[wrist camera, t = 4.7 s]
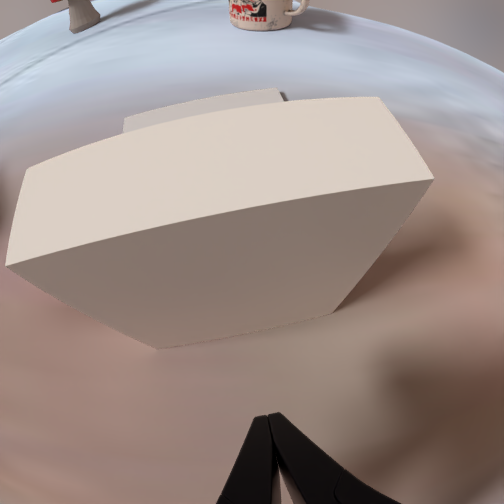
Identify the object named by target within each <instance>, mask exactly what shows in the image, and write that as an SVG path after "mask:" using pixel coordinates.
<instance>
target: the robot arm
mask: <svg viewBox="0 0 504 504" xmlns="http://www.w3.org/2000/svg"><path fill="white" fill-rule="evenodd" d="M276 457H277V458H276ZM277 461H278V462H277ZM278 466H279V467H278ZM279 469H280V472H281V475H282V477H283V480H284V482H285V484H286V487H287V489H288V492H289V494H290V496H291V499H292V501H293V503H294V504H401V503H399V502H397V501H395V500H393V499H391V498H389V497H387V496H385V495H383V494H382V493H380V492H378V491H376V490H375V489H373V488H371V487H370V486H368V485H366V484H365V483H363V482H362V481H360V480H359V479H358V478H356V477H355V476H354V475H352V474H351V473H350V472H349V471H347V470H346V469H344V468H343V467H342V466H341V465H339V464H338V463H337V462H336V461H335V460H333V459H332V458H331V457H330V456H329V455H327V454H326V453H325V452H324V451H323V450H322V449H320V448H319V447H318V446H317V445H316V444H315V443H313V442H312V441H311V440H310V439H309V438H308V437H307V436H306V435H304V434H303V433H302V432H301V431H300V430H299V429H298V428H297V427H295V426H294V425H293V424H292V423H291V422H290V421H289V420H288V419H287V418H286V417H285V416H284V415H282V414H281V413H280V412H277V413H272V414H269V415H268V417H267V416H266V415H262V416H257V417H255V418H254V419H253V421H252V424H251V426H250V429H249V431H248V434H247V436H246V438H245V441H244V443H243V445H242V448H241V450H240V452H239V455H238V457H237V459H236V462H235V464H234V466H233V468H232V471H231V473H230V475H229V477H228V480H227V482H226V484H225V486H224V488H223V490H222V493H221V494H222V495H220V496H219V498H218V500H217V503H216V504H281V489H280V474H279Z"/></svg>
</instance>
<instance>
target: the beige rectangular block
mask: <svg viewBox="0 0 504 504" xmlns="http://www.w3.org/2000/svg"><path fill="white" fill-rule="evenodd" d="M433 180H434V177H433V175H432V173H431V172H430V170H429V168H428V167H427V165H426V164H425V162H424V160H423V159H422V157H421V156H420V154H419V153H418V151H417V149H416V148H415V146H414V145H413V143H412V142H411V140H410V139H409V137H408V136H407V135H406V133H405V132H404V130H403V129H402V127H401V126H400V125H399V123H398V122H397V120H396V119H395V118H394V116H393V115H392V114H391V112H390V111H389V110H388V108H387V107H386V106H385V104H384V103H383V102H382V101H381V99H380V98H379V97H344V98H323V99H309V100H297V101H286V102H277V103H269V104H261V105H253V106H247V107H240V108H234V109H228V110H222V111H216V112H211V113H206V114H201V115H196V116H191V117H186V118H182V119H177V120H173V121H169V122H164V123H160V124H156V125H152V126H149V127H145V128H141V129H138V130H134V131H130V132H127V133H124V134H120V135H117V136H114V137H110V138H107V139H104V140H101V141H98V142H95V143H92V144H89V145H86V146H83V147H80V148H78V149H75V150H72V151H69V152H67V153H64V154H61V155H59V156H56V157H54V158H51V159H49V160H46V161H44V162H41V163H39V164H37V165H34V166H32V167H30V168H27V170H26V173H25V177H24V180H23V184H22V187H21V191H20V194H19V198H18V202H17V206H16V210H15V215H14V219H13V224H12V229H11V234H10V239H9V245H8V251H7V257H6V264H5V266H6V267H7V268H9V269H10V270H12V271H13V272H15V273H16V274H18V275H19V276H21V277H22V278H24V279H25V280H27V281H28V282H30V283H32V284H33V285H35V286H36V287H38V288H40V289H41V290H43V291H45V292H46V293H48V294H50V295H51V296H53V297H55V298H56V299H58V300H60V301H62V302H63V303H65V304H67V305H69V306H70V307H72V308H74V309H76V310H78V311H80V312H81V313H83V314H85V315H87V316H89V317H91V318H93V319H95V320H96V321H98V322H100V323H102V324H104V325H106V326H108V327H110V328H112V329H114V330H116V331H118V332H120V333H123V334H125V335H127V336H129V337H131V338H133V339H135V340H137V341H140V342H142V343H144V344H146V345H148V346H151V347H153V348H155V349H164V348H171V347H177V346H183V345H189V344H195V343H201V342H206V341H212V340H217V339H223V338H228V337H233V336H238V335H243V334H248V333H252V332H257V331H262V330H266V329H271V328H275V327H280V326H284V325H289V324H293V323H297V322H301V321H305V320H309V319H313V318H317V317H321V316H325V315H329V314H332V313H333V311H334V310H335V309H336V308H337V307H338V306H339V304H340V303H341V302H342V301H343V300H344V299H345V297H346V296H347V295H348V294H349V293H350V291H351V290H352V289H353V288H354V287H355V285H356V284H357V283H358V282H359V281H360V279H361V278H362V277H363V276H364V275H365V273H366V272H367V271H368V270H369V268H370V267H371V266H372V265H373V263H374V262H375V261H376V259H377V258H378V257H379V256H380V254H381V253H382V252H383V250H384V249H385V248H386V247H387V245H388V244H389V243H390V241H391V240H392V239H393V237H394V236H395V235H396V233H397V232H398V231H399V229H400V228H401V226H402V225H403V224H404V222H405V221H406V220H407V218H408V217H409V215H410V214H411V213H412V211H413V210H414V208H415V207H416V205H417V204H418V203H419V201H420V200H421V198H422V197H423V195H424V194H425V192H426V191H427V189H428V188H429V186H430V185H431V183H432V182H433Z"/></svg>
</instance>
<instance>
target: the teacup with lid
mask: <svg viewBox="0 0 504 504" xmlns="http://www.w3.org/2000/svg"><path fill="white" fill-rule="evenodd" d="M292 2H293V0H229V10H230V21H231V23H232V25H234V26H235V27H238V28H241V29H245V30H253V31H269V30H277V29H281V28H284V27H287V26H288V25H290V24H291V21H292V16H296V15H299V14H302V13H303V12H304V11H305V10H306V9H307V7H308V5H309V0H301V5H300V7H299V8H298V9H297V10H296V11H294V10H292Z"/></svg>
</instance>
